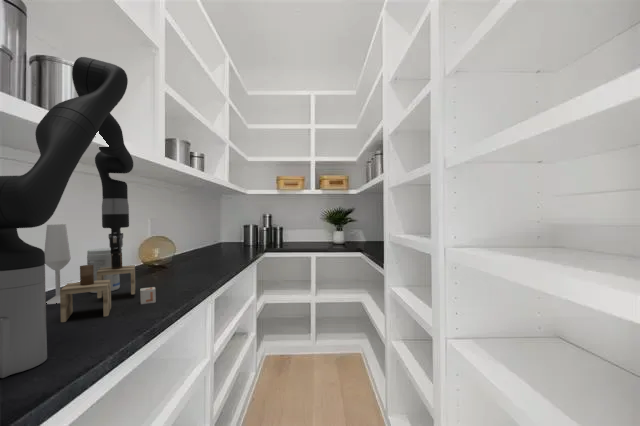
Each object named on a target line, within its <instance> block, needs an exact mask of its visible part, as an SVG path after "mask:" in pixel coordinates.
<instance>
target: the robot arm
mask: <svg viewBox="0 0 640 426" xmlns="http://www.w3.org/2000/svg"><path fill="white" fill-rule="evenodd" d="M71 78H72V79H71V80H72V83H73V87H74V90H75V91H76V94H77V96H76V97H73V98H69V99H65V100H64V101H61V102H59V103H57V104H55V105H54V106H52V107H51V108H50V109H49V111H47V112H46V113H45V115H44V116H43V117H42V119H41V120H40V121H39V122H38V123H37V126H36V128H35V141H36V145H37V147H38V150H39V153H40V156H39V157H38V159H37V161H36V162H35V164H34V165H32V167H31V168H30V169H29V170H28V171H27V172H25V173H23V174H21V175H0V379H4V378H7V377H8V376H10V375H15V374H19V373H21V372H24V371H27V370H31V369H33V368H36V367H37V366H39V365H42V364H43V363H45V361H47V359H48V343H47V342H48V341H47V339H48V338H47V337H48V335H47V304H46V302H47V299H46V295H47V294H46V293H47V292H46V264H45V254H44V251H45V250H43V249H42V248H40V247H38V246H35V245H32V244H29V243H28V242H26V241H24V240H22V239H21V238H20V236H19V233H18V229H28V228H29V229H32V228H37V227H40V226H42V225H44V224H46V223H47V222H48V221H49V220H50V219H51V218H52V216H54V214H55V212H56V209H57V208H58V205H59V203H60V202H61V199H62V197H63V195H64V193H65V190H66V187H67V186H68V183H69V181H70V178H71V176H72V175H73V173H74V171H75V169H76V168H77V165H78V164H79V162H80V161H81V158H82V157H83V155H84V154H85V153H86V151H87V150H88V148H89V147H90V145H91V144H92V142H93V140H95V138H96V136H95V135H96V133H97V132H98V131H99V134H100V135H101V136H102V137H103V139H104V140H105V141H106V143H107V144H108V145H109V147H99V148H98V150H99V151H98V152H97V153H96V154H95V157H94V163H95V166H96V169H97V172H98V175H99V177H100V181H101V188H102V190H101V191H102V201H101V202H102V203H101V226H102V228H103V229H110V233H108V240H109V248H111V251H110V253H111V255H112V267H120V254H121V252H122V251H123V248H122V247H123V245H124V243H123V242H124V240H123V239H124V232H123V233H122V232H121V230H122V228H129V227H130V211H129V210H130V209H129V208H130V207H129V200H128V197H129V196H128V195H129V194H128V183H127V182H125V181H123V180H118V179H115V178H112V177H111V176H110V174H129V173H130V172H132V171H133V169H134V159H133V157H132V155H131V153H130V152H129V150H128V149H127V146H126V145H125V141H124V134H123V130H122V127H121V126H120V124H119V122H118V121H117V119H116V118H115V117H114V116H113V115H112V114H111V112H112V111H113V110H114V108H115V107H117V105H118V104H119V103H120V102H121V100H122V99H123V97H124V95H125V93H126V92H127V89H128V82H129V81H128V79H129V78H128V74H127V72H126V71H125V69H123V68H122V67H121V66H118V65H117V64H114V63H111V62H106V61H103V60H99V59H95V58H92V57H88V56H87V57H86V56H80V57H77V58H76V60H75V61H74V63H73V64H72V70H71ZM122 253H123V252H122Z"/></svg>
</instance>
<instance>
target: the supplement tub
mask: <svg viewBox="0 0 640 426" xmlns="http://www.w3.org/2000/svg"><path fill="white" fill-rule="evenodd" d="M110 251H111V248H110V247H105V248H95V249H89V250H87V252H86V255H87V256H86V260H87V261H86V262H87V263H86V265H93V267H94V281H97V271H98V270H99V269H100V268H105V267H112V266H111V253H110ZM109 279H111V292H113V291H117V290H119V289H120V286H121V282H120V279H121V278H120V274H113V275H104V280H109ZM90 293H92V294H97V291H93V292H90Z"/></svg>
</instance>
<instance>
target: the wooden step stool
mask: <svg viewBox="0 0 640 426" xmlns="http://www.w3.org/2000/svg"><path fill="white" fill-rule="evenodd" d="M93 291H103V295H102V299H103V300H102V301H103V302H102V305H103V307H102V308H103V310H102V311H103V318H104V317H109V314H110V311H111V309H112V291H111V279H109V280H98V281H94V267H93V265H87V264H84V265H79V282H78V281H77V282H68V283H67V284H65V285H64V286H63V287H62V288H60V303H59V304H60V305H59V306H60V307H59V308H60V323H66V322H67V321H68V319H69V318H70V316H71V315H72V314H73V312H74V307H73V306H74V305H73V301H74V300H73V297H74V295H75V294H81V293H82V294H83V293H91V292H93ZM73 294H74V295H73Z"/></svg>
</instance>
